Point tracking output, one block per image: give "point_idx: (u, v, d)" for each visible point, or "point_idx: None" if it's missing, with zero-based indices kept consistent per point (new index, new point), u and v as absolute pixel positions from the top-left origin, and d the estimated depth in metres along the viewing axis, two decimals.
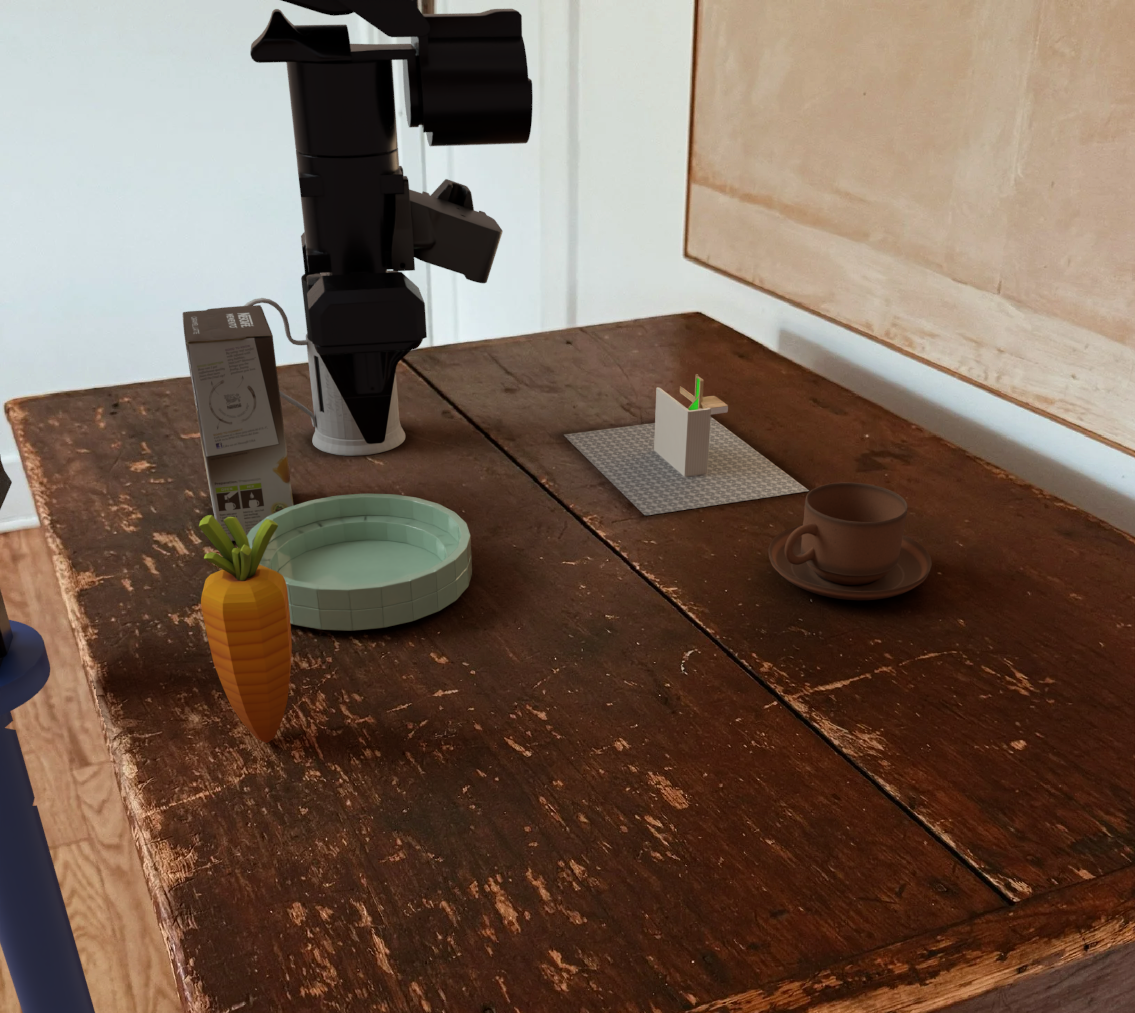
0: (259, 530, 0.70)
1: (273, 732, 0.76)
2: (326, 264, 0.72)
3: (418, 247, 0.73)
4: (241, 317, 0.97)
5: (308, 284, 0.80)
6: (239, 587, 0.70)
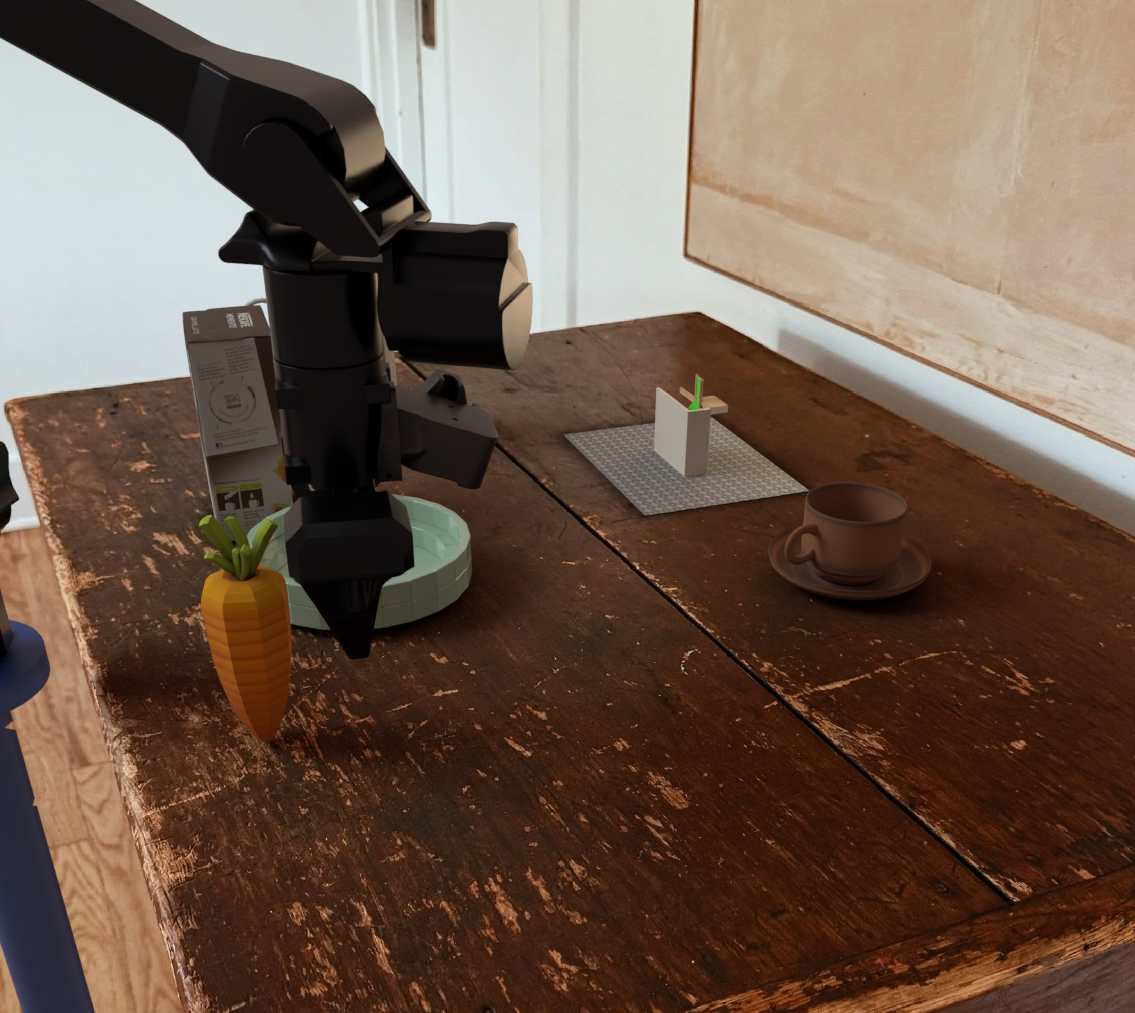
0: (259, 530, 0.70)
1: (273, 732, 0.76)
2: (306, 475, 0.66)
3: (406, 457, 0.67)
4: (241, 317, 0.97)
5: None
6: (239, 587, 0.70)
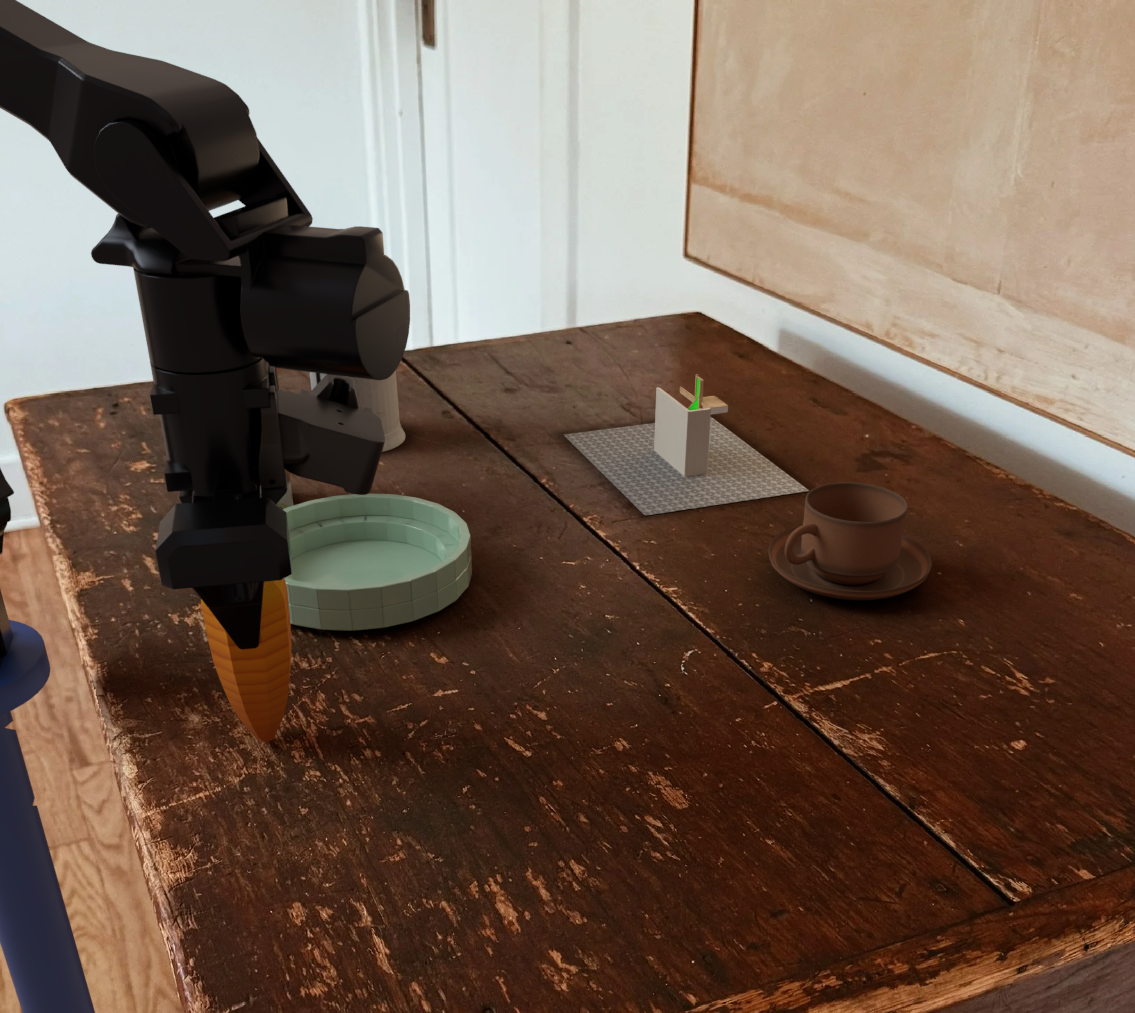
0: None
1: (273, 732, 0.76)
2: (186, 482, 0.65)
3: (289, 462, 0.65)
4: None
5: (180, 494, 0.71)
6: None
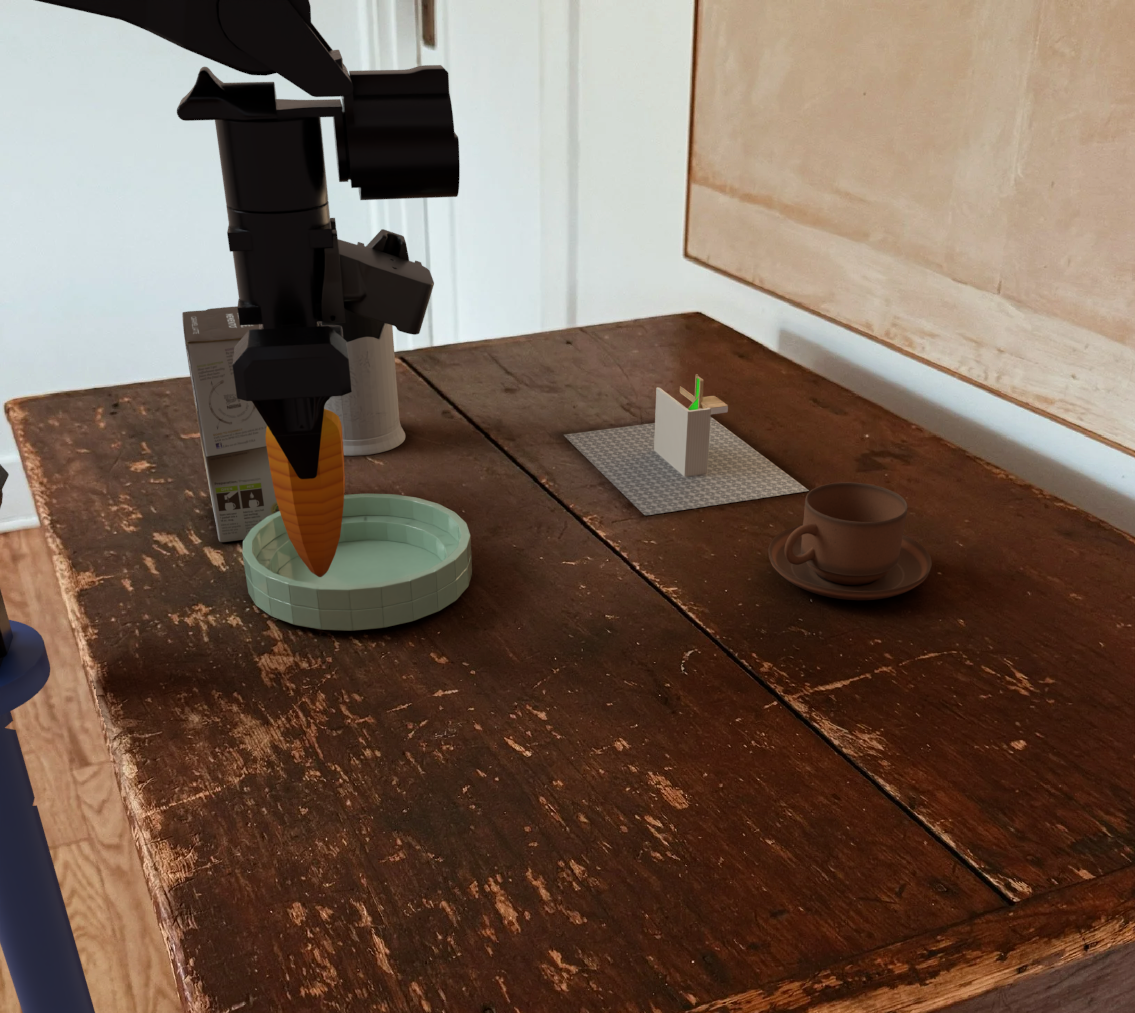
0: None
1: (327, 566, 0.84)
2: (257, 316, 0.73)
3: (348, 300, 0.73)
4: None
5: None
6: None
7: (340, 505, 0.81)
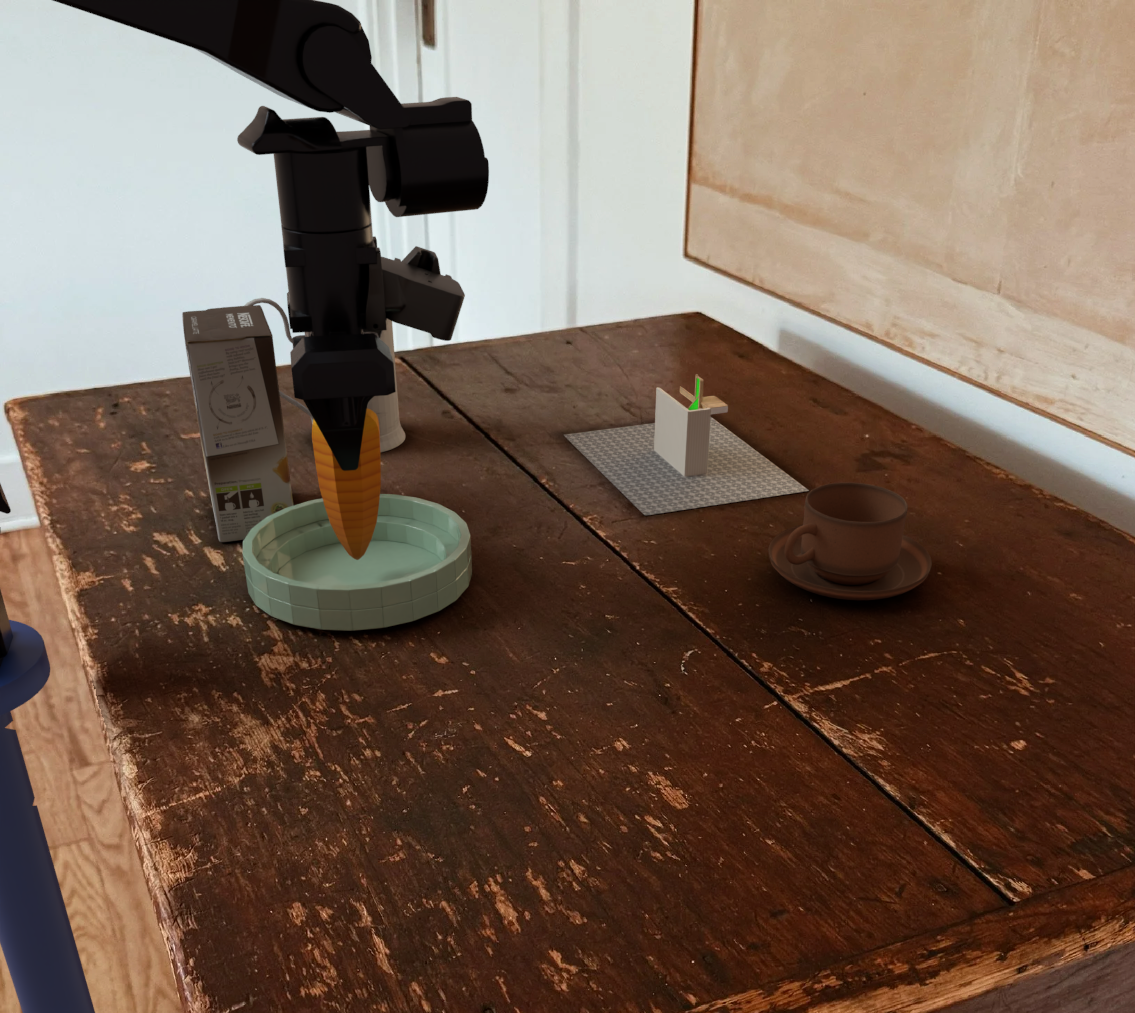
0: None
1: (364, 549, 0.93)
2: (308, 325, 0.82)
3: (389, 310, 0.82)
4: (241, 317, 0.97)
5: (293, 346, 0.88)
6: None
7: (377, 494, 0.90)
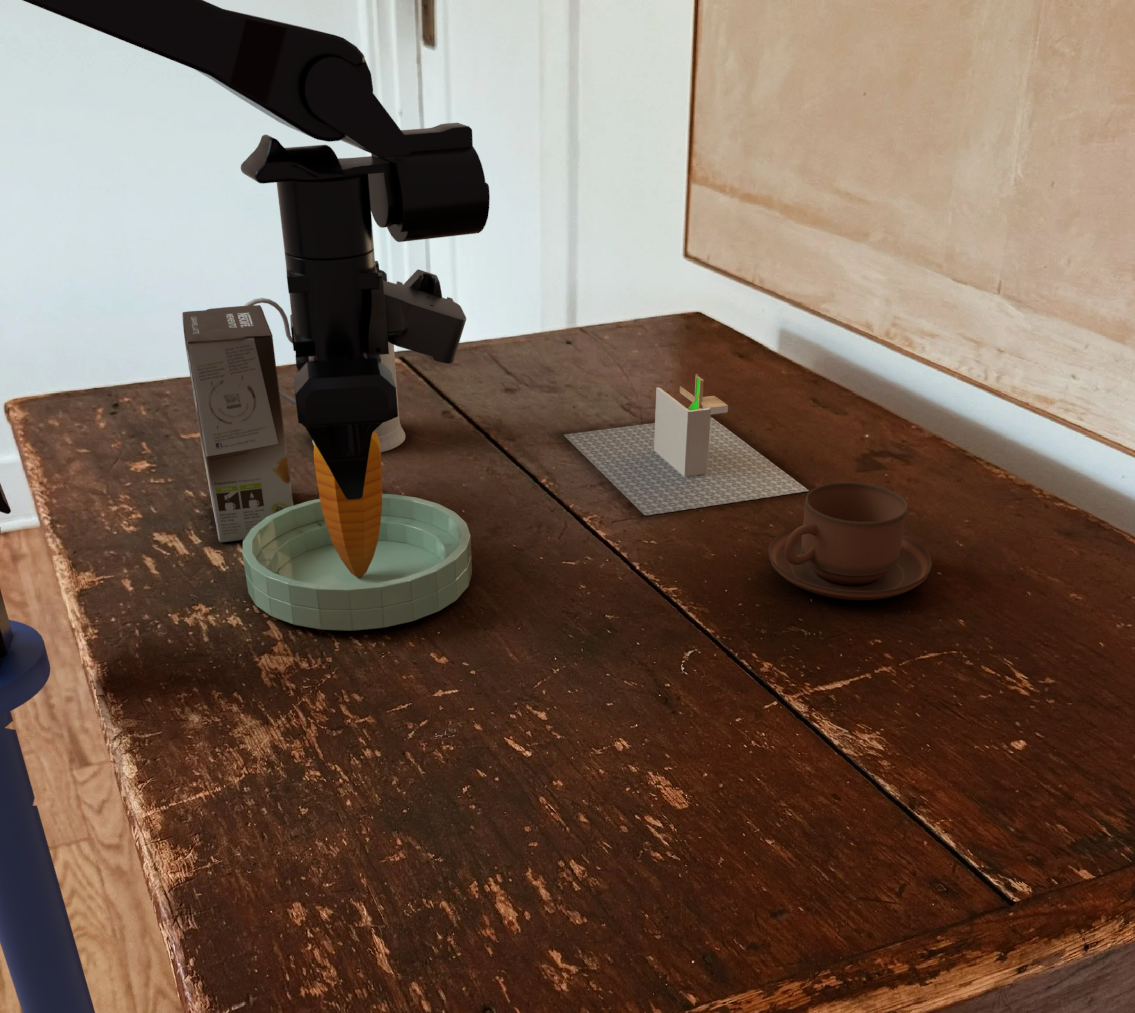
0: None
1: (365, 568, 0.94)
2: (311, 349, 0.83)
3: (392, 334, 0.83)
4: (241, 317, 0.97)
5: (296, 363, 0.90)
6: None
7: (379, 513, 0.91)
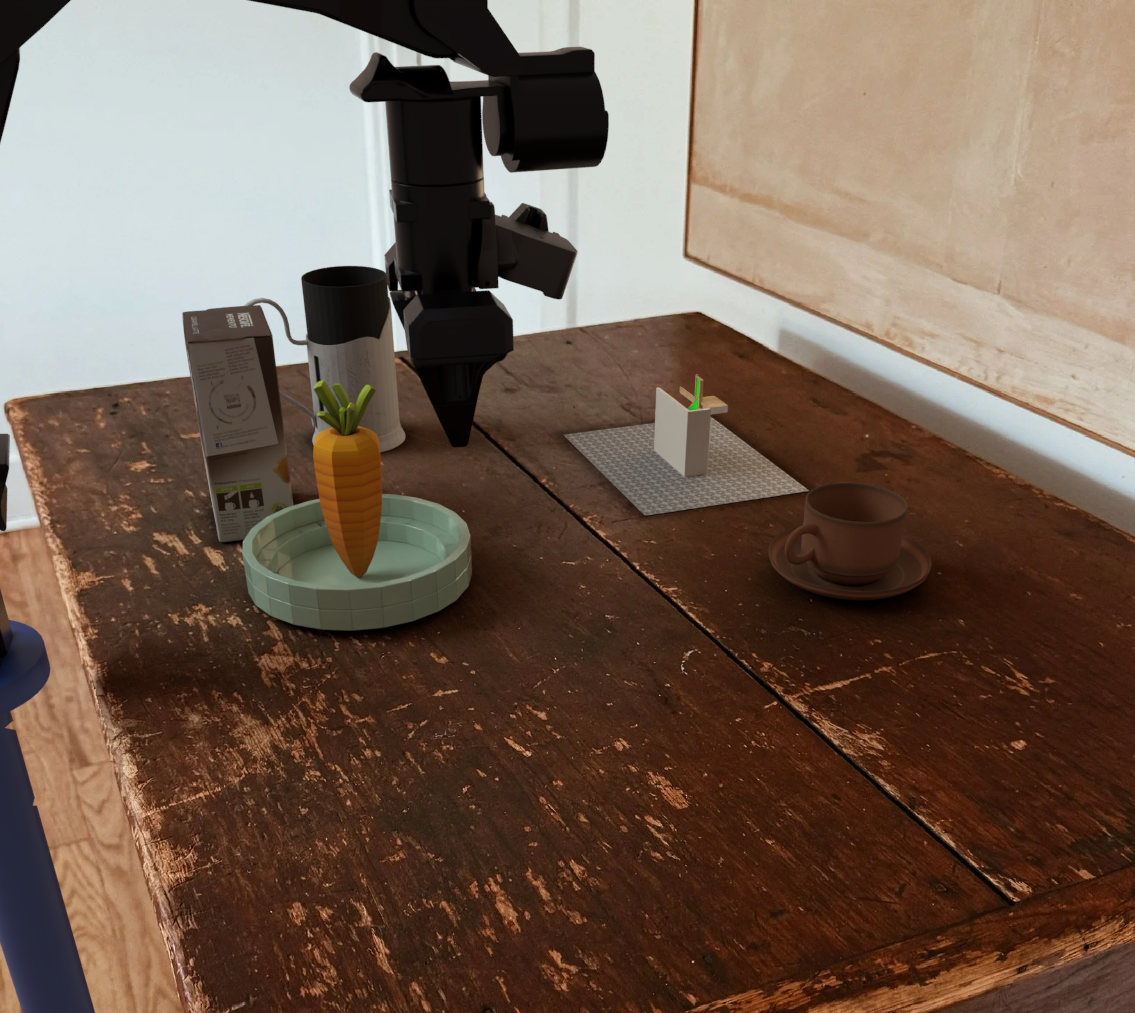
0: (361, 393, 0.87)
1: (365, 568, 0.94)
2: (418, 283, 0.79)
3: (502, 267, 0.79)
4: (241, 317, 0.97)
5: (393, 300, 0.87)
6: (344, 439, 0.87)
7: (378, 513, 0.91)
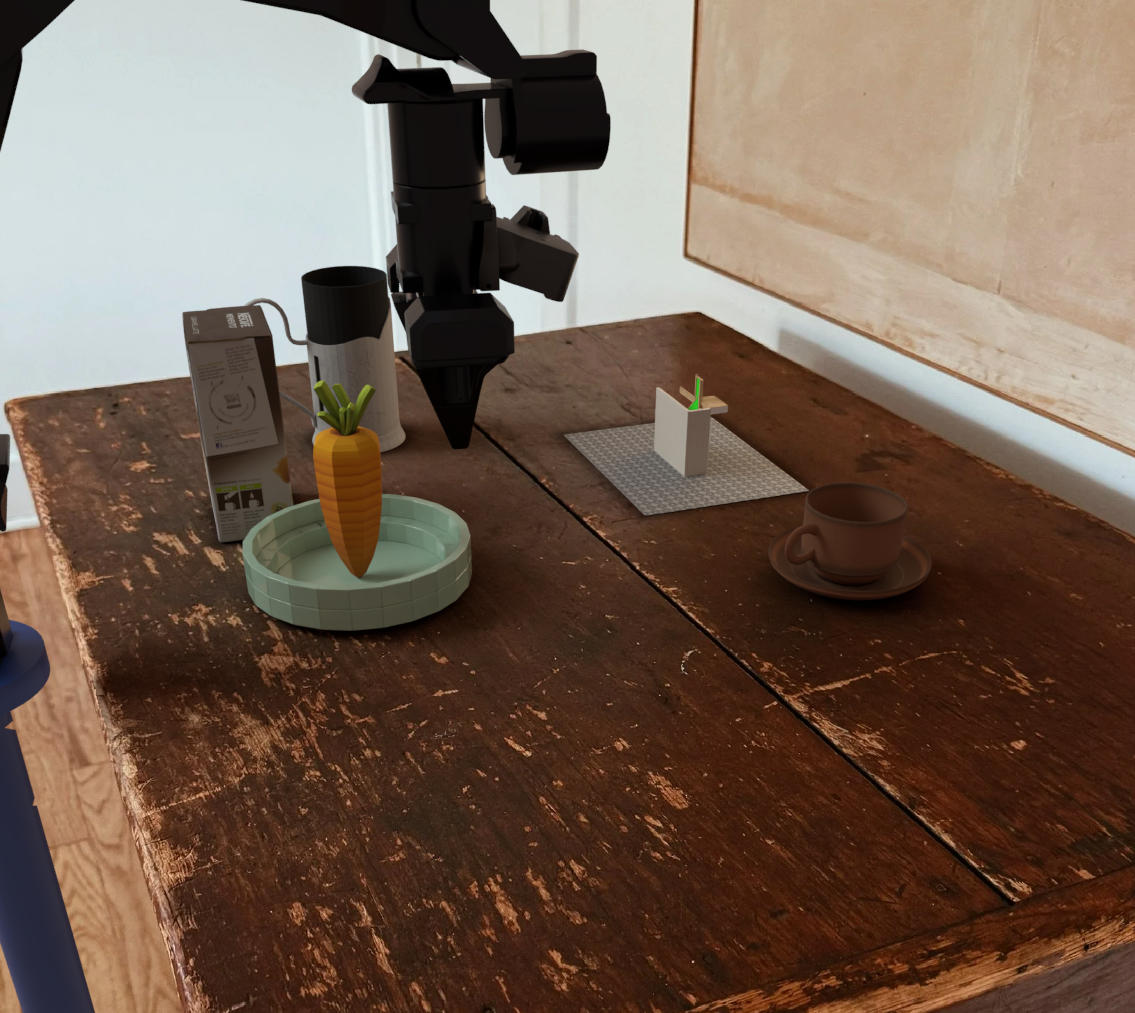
0: (361, 393, 0.87)
1: (365, 568, 0.94)
2: (419, 285, 0.79)
3: (503, 269, 0.79)
4: (241, 317, 0.97)
5: (394, 301, 0.87)
6: (344, 439, 0.87)
7: (378, 513, 0.91)
